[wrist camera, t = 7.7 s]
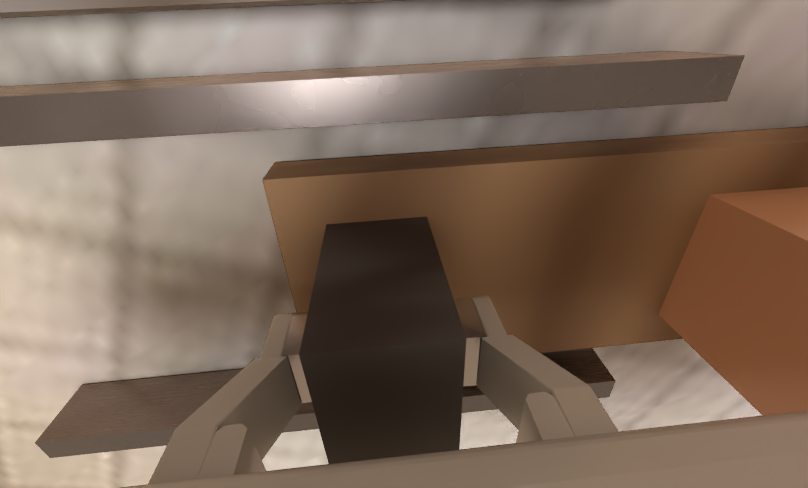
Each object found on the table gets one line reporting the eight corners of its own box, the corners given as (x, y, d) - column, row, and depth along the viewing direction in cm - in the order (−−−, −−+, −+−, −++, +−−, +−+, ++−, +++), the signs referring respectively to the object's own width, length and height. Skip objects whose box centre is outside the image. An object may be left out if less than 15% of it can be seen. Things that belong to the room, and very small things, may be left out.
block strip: (872, 122, 12) (1303, 198, 7) (760, 303, 16) (967, 445, 11) (274, 162, 11) (180, 295, 5) (317, 346, 15) (289, 529, 10)
